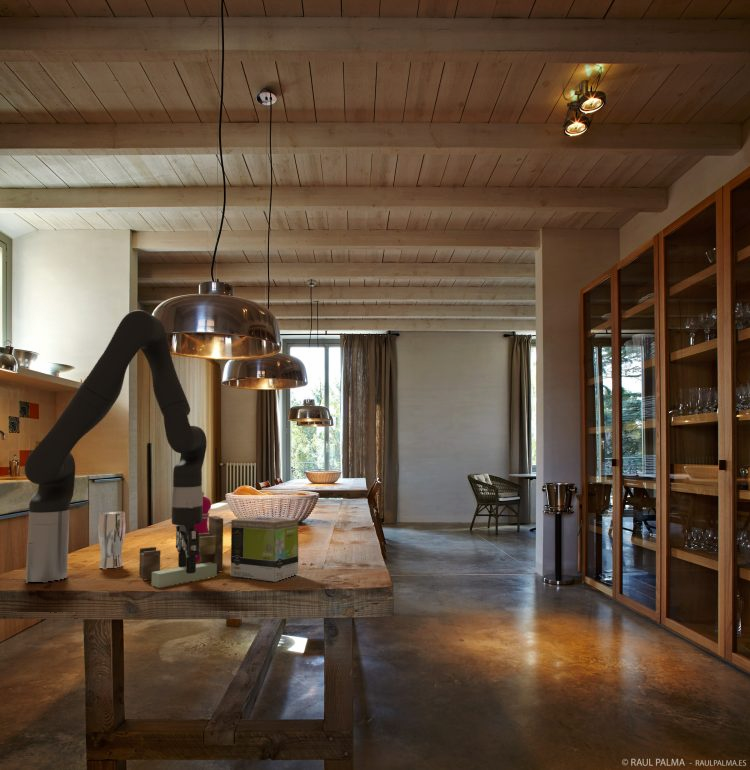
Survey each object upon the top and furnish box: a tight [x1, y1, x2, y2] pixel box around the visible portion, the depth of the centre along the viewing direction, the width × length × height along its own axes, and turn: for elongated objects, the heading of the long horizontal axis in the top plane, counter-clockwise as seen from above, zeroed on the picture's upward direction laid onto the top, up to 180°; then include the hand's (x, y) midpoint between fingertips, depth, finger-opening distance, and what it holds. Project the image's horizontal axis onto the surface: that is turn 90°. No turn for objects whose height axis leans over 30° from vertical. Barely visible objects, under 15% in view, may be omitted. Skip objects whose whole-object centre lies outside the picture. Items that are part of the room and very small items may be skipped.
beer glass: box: [97, 510, 126, 570], centre depth 171 cm, size 7×7×15 cm
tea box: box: [230, 515, 299, 583], centre depth 159 cm, size 15×10×15 cm
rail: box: [150, 562, 218, 589], centre depth 154 cm, size 16×4×4 cm, turn 137°
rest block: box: [138, 546, 162, 581], centre depth 158 cm, size 4×7×7 cm, turn 30°
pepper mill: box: [191, 491, 212, 561], centre depth 182 cm, size 7×7×20 cm
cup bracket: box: [199, 515, 224, 573], centre depth 166 cm, size 6×7×14 cm
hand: (186, 570), depth 154 cm, fingers open, 8 cm apart
